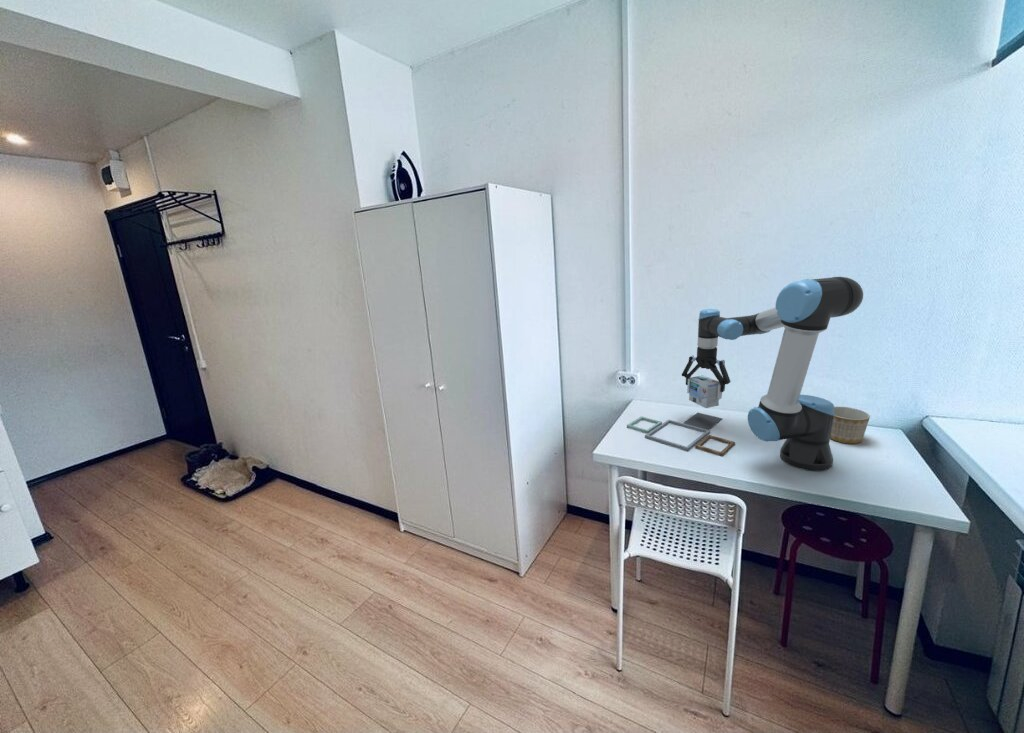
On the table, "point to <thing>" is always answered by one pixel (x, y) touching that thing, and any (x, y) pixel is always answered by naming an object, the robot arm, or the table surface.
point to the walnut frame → (723, 452)
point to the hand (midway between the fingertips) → (704, 395)
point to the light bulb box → (704, 391)
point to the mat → (703, 421)
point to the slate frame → (649, 436)
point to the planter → (849, 425)
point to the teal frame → (657, 423)
